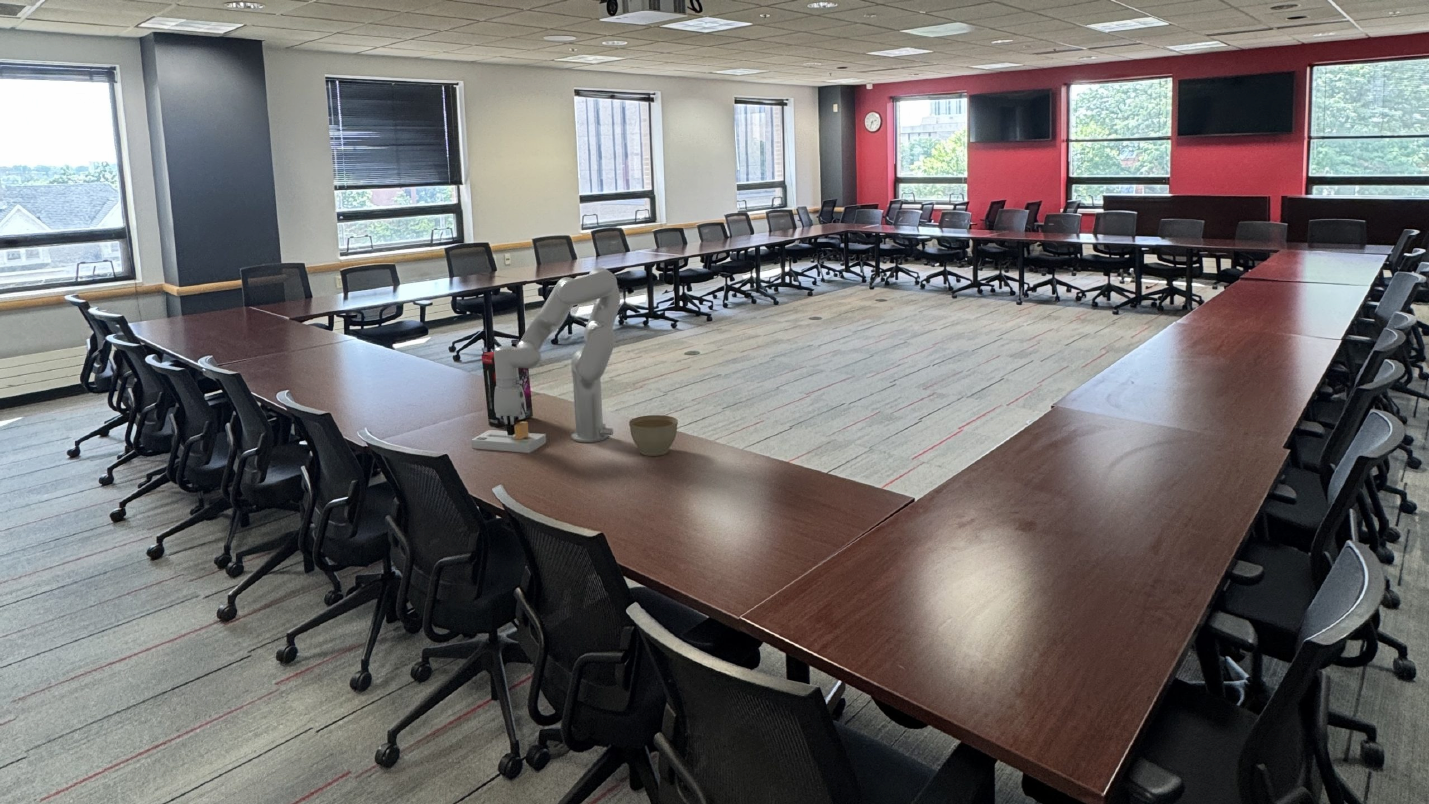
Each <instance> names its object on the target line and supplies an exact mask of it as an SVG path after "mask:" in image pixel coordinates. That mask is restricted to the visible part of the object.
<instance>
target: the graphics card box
mask: <svg viewBox="0 0 1429 804" xmlns="http://www.w3.org/2000/svg"><path fill="white" fill-rule="evenodd" d="M517 346H518V345H517ZM517 346H516V345H515V346H514V347H515V348H517ZM481 363H482V372H483V382H484V392H485V399H486V400H485V402H486V410H487V420H488V425H489V426H493V427H499V428H501V427H503V426H506V424H505V423H504V421H503V420H502V419H501V418H498V417H496V413H495V408H494V393H495V387H496V386H497V383H496V371H495V359H494V351H489V352H485V353H482V354H481ZM529 369H530V368H518V374H519V380H522V384H520V386H522V388H523V392H524V396H525V402H526V412H525V413H524V414H525V418H524V419H520V420H518V422H521V421H524V420H526V419H527V420H528V419H530V418H533V416H534V413H533V403H532V402H533V401H532V391H531V380H530V370H529Z"/></svg>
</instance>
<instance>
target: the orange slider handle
mask: <svg viewBox="0 0 1429 804" xmlns="http://www.w3.org/2000/svg"><path fill="white" fill-rule="evenodd" d="M514 428H515V439H527V438H526V437H527V436H528V435H529V434H528V433H529V423H528V421H523V420H520V421H519V422H517V423H516V425H514Z"/></svg>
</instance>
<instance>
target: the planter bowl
mask: <svg viewBox="0 0 1429 804" xmlns="http://www.w3.org/2000/svg"><path fill="white" fill-rule="evenodd" d="M678 422H679V420H678V419H677V418H676V417H674V416H671V415H663V414H653V415H652V414H649V415H643V416H636V417H635V418H632V419H630V420H629V421H628V425H629V431H630V435H631V438H632V440H633V442H634V444H635V445H636V446H637V448H638V449H639V453H640V454H642V455H644V456H649V457H650V456H651V457H654V456H656V457H657V456H662V455H666V454H668V453H669V451H670V448H671V447H672V445H673V443H674V441H675V439H676V436H677V433H678Z"/></svg>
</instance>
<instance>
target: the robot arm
mask: <svg viewBox="0 0 1429 804" xmlns="http://www.w3.org/2000/svg"><path fill="white" fill-rule="evenodd" d="M620 293H621V292H620V290H619V286H618V280H617V277H616V276H615V275H614V273H613V272H611V271H610V270H608V269H607V268H604V267H600V266H599V267H594V268H593V269H591V270H590V271H589V274H588V275H586V276H582V277H578V278H572V277H568V276H567V277H562V278H560V279H559V280H558V281H557V283H556V284H555V286H554V288H553V289H552V291H551V292H550V294H549V296H548V298H547V299H546V301H545V302H544V303H543V306H542V307H541V309H540V311H539V313H538V314H537V315H536V316H535V318H534V320H533V321H532V322H531V323H530V325H529V326H528V328H527V329H526V330H525V332H524V334H523V335H522V337H521V339H520V340H519V342H518V344H517V348H515V346H512V345H500V346H497V347H496V348H495V349H494V350H493V352H494V359H495V371H496V383H497V386H496V387H495V393H494V408H495V413H496V417H498V418H501V419H502V420H503V421H504V423H505V424H506V425H505V426H506V431H507V434H508V435H511V436H513V435H514V434H515V428H514V425H516V424H518V423H519V421H518V420H520V419H524V418H525V414H524V413H525V412H526V402H525V396H524V392H523V388H522V386H520V384H522V380H519V374H518V368H529V369H532V368H536V367H537V366H538V365H540V363H541V361H542V355H541V352H540V350H541V349H542V347H543V345H544V344H545V342H546V340H547V339H548V338H549V336H551V335H552V333H554V332H556V331H558V329H560V327H562V325H563V324H564V322H565V321H566V318H567V317H568V315H569V314H570V312H571V310H572V308H574V306H578V305H582V304H586V303H589V302H592V301H594V304H593V307H592V310H591V312H590V313H591V314H590V315H589V318H588V321H587V323H586V326H585V327H584V331H583V340H584V341H585V343H584V347H583V348H581V349H578V350H577V351H575V353H574V354H573V355H572V358H571V362H570V363H571V364H570V367H571V376H572V384H573V402H574V403H573V404H574V423H575V424H574V425H575V431H574V432H573V433H572V434H571V439H572V440H573V441H574V442H578V443H594V442H596V443H597V442H601V441H603V440H606V439H607V438H608V436H613V435H614V429H613V428H612V427H611V428H610V427H607V426H606V423H603V422H604V421H603V420H604V419H603V402H602V401H603V400H602V399H603V397H602V384H601V383H602V382H601V378H602V377H603V375H604V373H605V371H606V369H607V367H608V364H609V361H610V358H611V356H612V354H613V350H614V348H615V343H616V334H615V331H614V329H613V328H614V324H615V323H616V319H617V316H618V313H619V310H620V304H621V295H620ZM524 420H525V419H524ZM520 421H521V420H520Z"/></svg>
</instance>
